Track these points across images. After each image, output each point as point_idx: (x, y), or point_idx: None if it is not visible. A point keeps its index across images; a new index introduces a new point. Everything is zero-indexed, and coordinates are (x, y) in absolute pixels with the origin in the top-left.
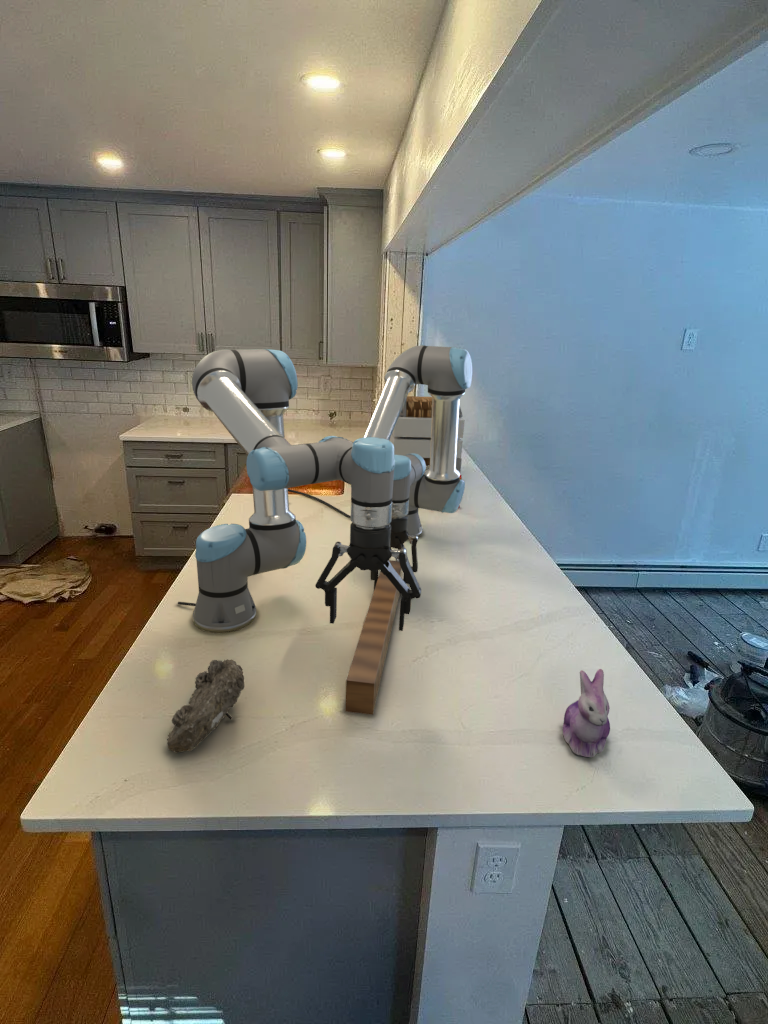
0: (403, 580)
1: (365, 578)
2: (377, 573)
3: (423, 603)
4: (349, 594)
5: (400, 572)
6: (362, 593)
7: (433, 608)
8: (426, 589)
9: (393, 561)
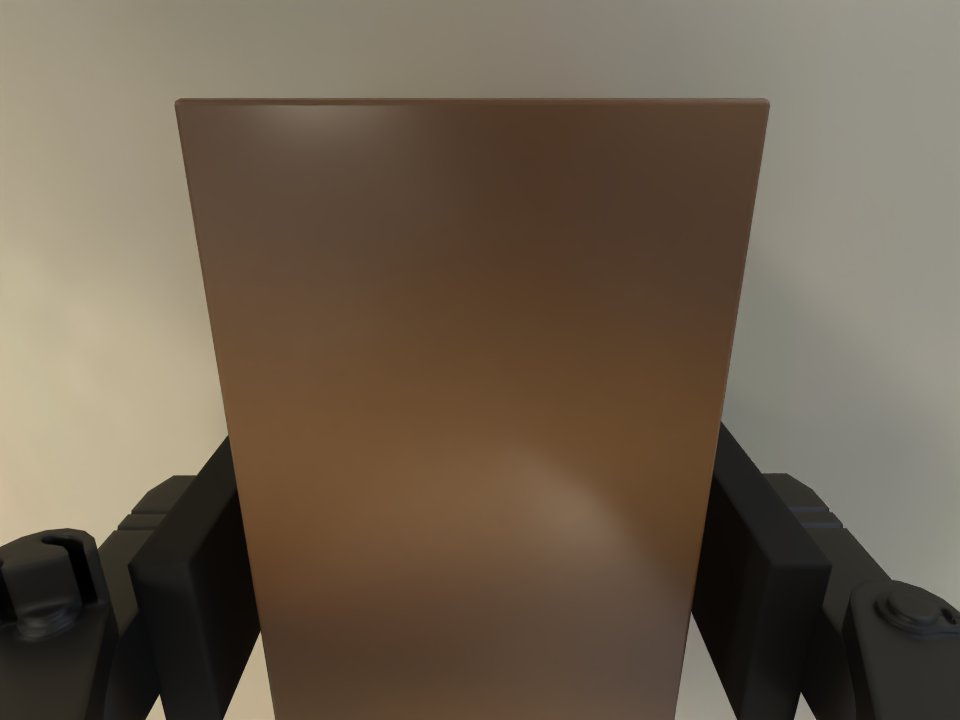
0: (701, 618)
1: (50, 9)
2: (237, 638)
3: (854, 516)
4: (45, 488)
5: (680, 671)
6: (172, 441)
7: (941, 584)
8: (957, 181)
9: (482, 179)
